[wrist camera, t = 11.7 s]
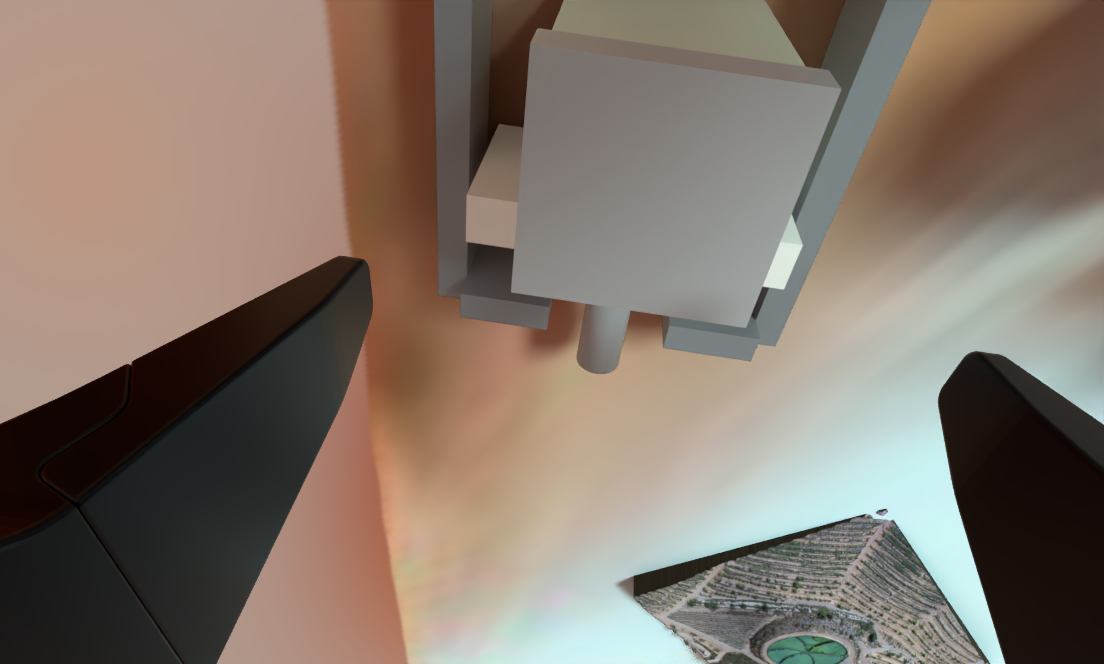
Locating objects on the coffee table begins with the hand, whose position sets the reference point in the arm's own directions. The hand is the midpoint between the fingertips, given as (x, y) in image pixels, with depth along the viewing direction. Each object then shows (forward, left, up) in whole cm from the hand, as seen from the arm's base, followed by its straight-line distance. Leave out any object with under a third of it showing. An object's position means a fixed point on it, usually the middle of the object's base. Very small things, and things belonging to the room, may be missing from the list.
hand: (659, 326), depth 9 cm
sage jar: (0, 0, -13) cm, 13 cm away
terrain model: (-33, +17, -14) cm, 39 cm away
